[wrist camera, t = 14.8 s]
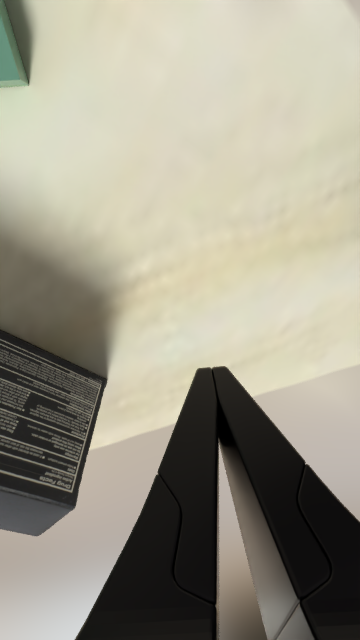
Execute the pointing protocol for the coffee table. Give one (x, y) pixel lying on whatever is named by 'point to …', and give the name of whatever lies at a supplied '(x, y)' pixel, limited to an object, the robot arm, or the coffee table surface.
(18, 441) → the small box
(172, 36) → the coffee table surface
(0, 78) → the tile
